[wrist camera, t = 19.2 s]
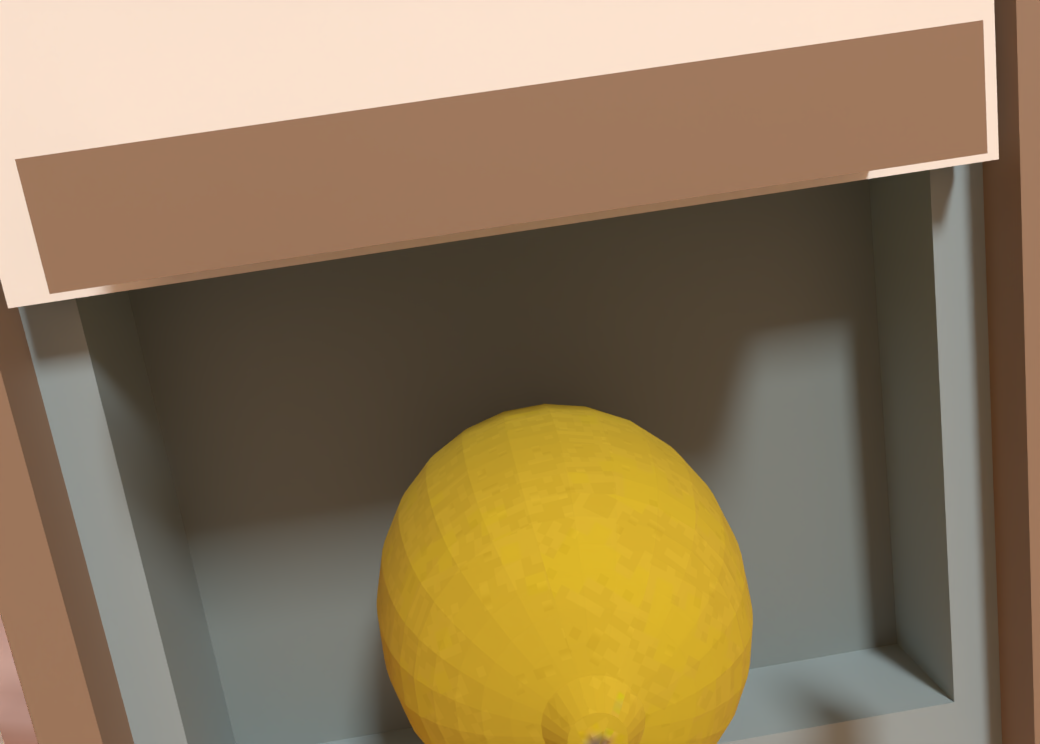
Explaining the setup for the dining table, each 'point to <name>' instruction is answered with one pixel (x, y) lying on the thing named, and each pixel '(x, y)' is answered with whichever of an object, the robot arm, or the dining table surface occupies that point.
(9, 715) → the dining table surface
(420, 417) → the sliding lid box
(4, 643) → the dining table surface
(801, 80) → the slide cover
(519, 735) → the lemon
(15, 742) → the dining table surface
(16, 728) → the dining table surface
